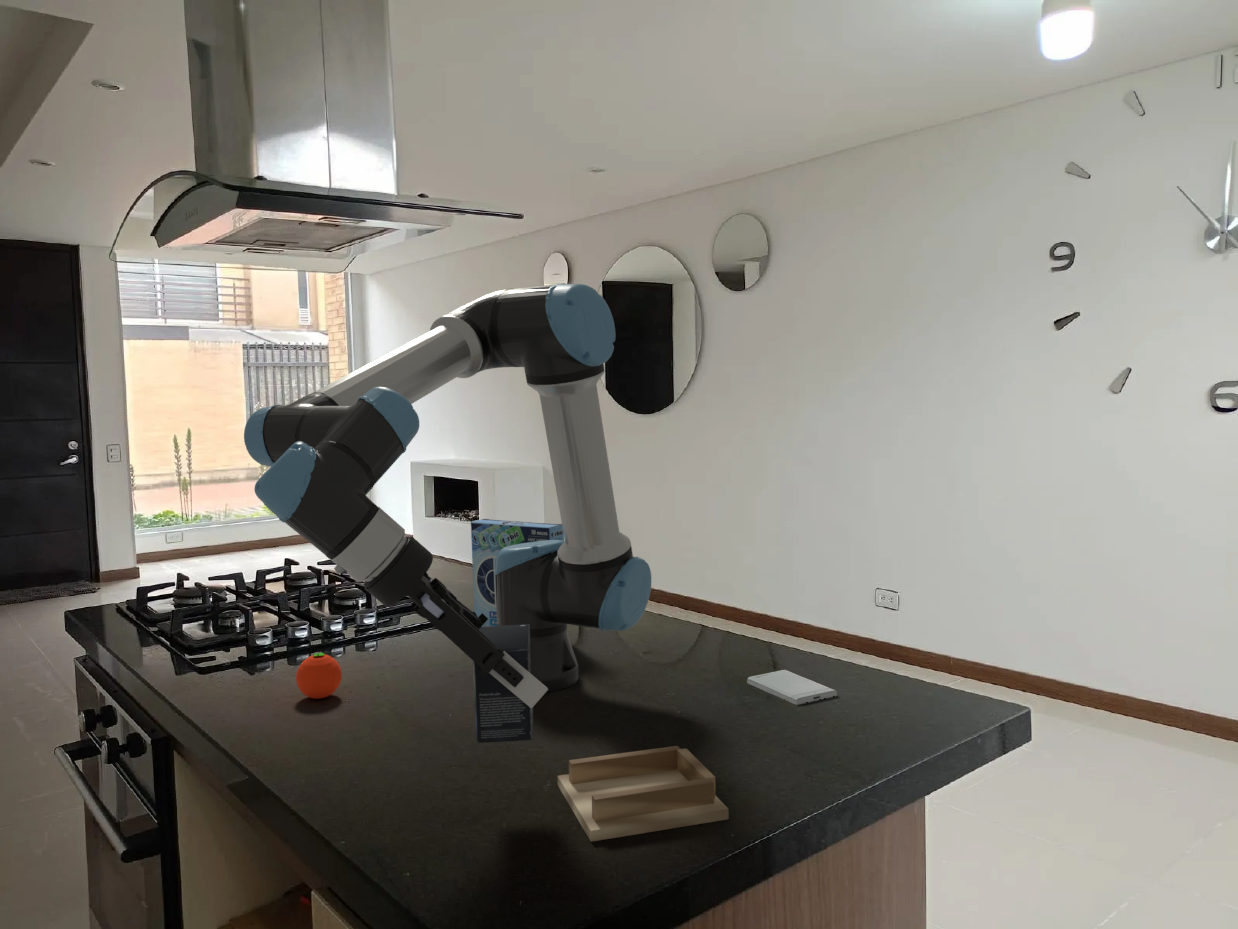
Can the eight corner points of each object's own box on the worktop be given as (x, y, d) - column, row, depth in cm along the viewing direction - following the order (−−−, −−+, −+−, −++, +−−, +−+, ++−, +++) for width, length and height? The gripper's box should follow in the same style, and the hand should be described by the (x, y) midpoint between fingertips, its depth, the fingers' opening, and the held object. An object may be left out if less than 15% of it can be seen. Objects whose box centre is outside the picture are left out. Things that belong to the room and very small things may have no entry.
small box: (479, 710, 111) (476, 624, 110) (533, 707, 112) (531, 622, 111) (473, 744, 101) (470, 650, 100) (533, 741, 101) (531, 647, 100)
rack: (557, 785, 113) (557, 755, 112) (680, 768, 117) (679, 739, 117) (590, 841, 98) (590, 808, 98) (728, 819, 103) (728, 787, 103)
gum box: (567, 641, 178) (565, 524, 176) (552, 648, 174) (549, 527, 172) (489, 629, 188) (486, 517, 186) (472, 635, 184) (469, 521, 182)
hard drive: (746, 677, 151) (796, 697, 140) (786, 669, 155) (837, 688, 144) (747, 686, 151) (796, 708, 140) (786, 678, 155) (837, 699, 144)
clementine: (299, 690, 150) (297, 648, 150) (343, 687, 152) (342, 644, 151) (294, 706, 142) (293, 661, 142) (341, 702, 144) (340, 658, 143)
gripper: (357, 565, 111) (488, 676, 117) (364, 610, 89) (526, 744, 95) (400, 519, 112) (528, 631, 118) (418, 551, 90) (575, 688, 96)
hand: (528, 681), depth 106 cm, fingers closed on small box, 11 cm apart
